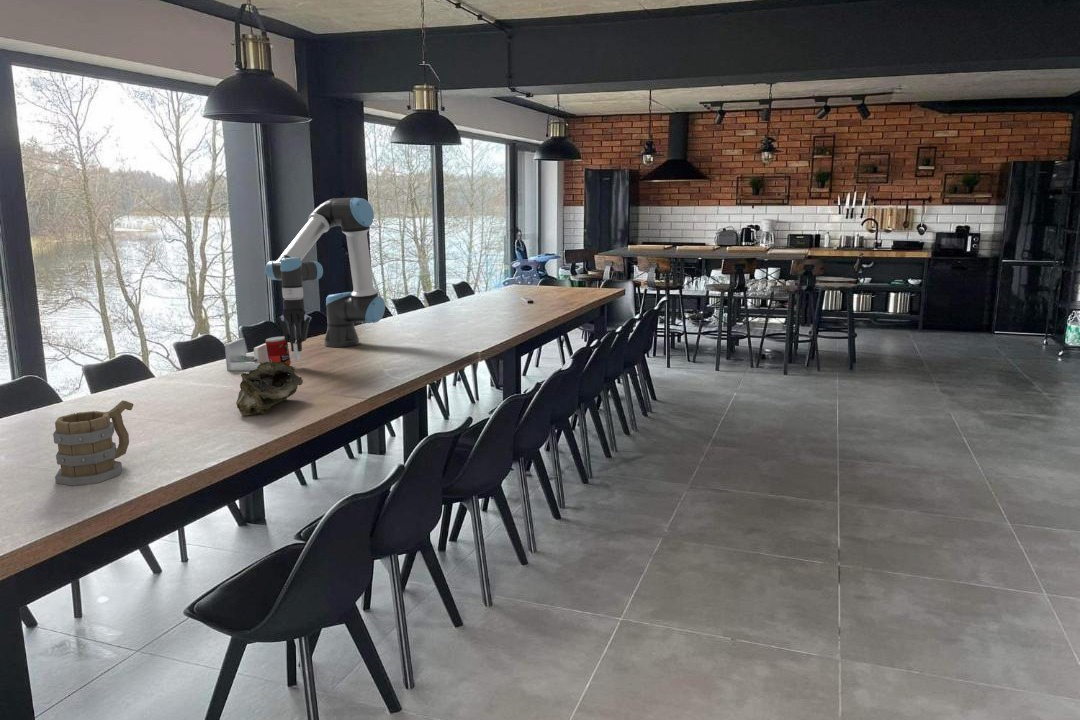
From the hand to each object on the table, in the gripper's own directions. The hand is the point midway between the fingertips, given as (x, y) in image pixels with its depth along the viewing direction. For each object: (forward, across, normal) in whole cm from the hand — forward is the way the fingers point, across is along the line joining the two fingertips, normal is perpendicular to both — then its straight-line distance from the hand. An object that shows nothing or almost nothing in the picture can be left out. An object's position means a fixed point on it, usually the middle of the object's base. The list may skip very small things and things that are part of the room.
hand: (297, 359), depth 295 cm
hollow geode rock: (+4, +13, -60) cm, 61 cm away
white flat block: (+3, -14, -1) cm, 14 cm away
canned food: (+3, -7, +1) cm, 7 cm away
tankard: (+5, -4, -120) cm, 120 cm away
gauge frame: (+3, -18, +1) cm, 18 cm away
